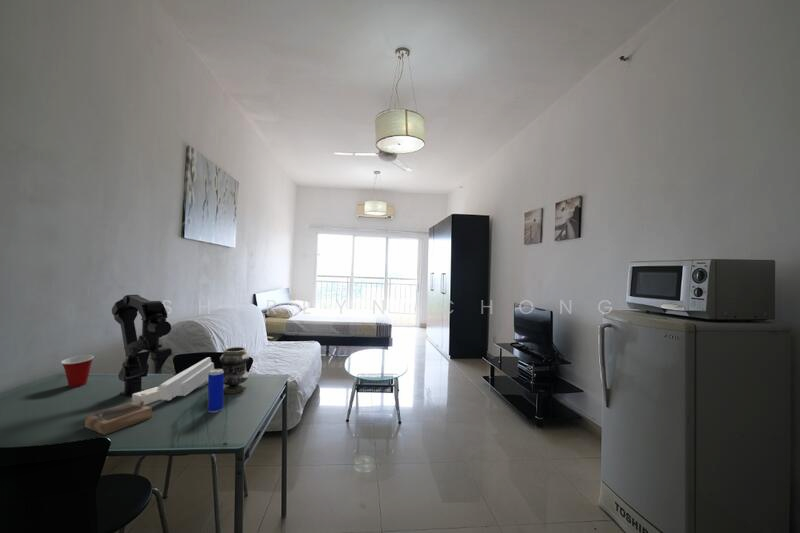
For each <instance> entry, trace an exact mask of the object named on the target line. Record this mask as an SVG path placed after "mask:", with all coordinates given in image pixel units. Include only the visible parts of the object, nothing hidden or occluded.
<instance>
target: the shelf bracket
mask: <svg viewBox="0 0 800 533" xmlns="http://www.w3.org/2000/svg"><path fill="white" fill-rule="evenodd" d="M213 369H215V363H214V362H212V358H211V357H210V356H209V357H205V358H204V359H202V360H200V361H198V362H197V363H195V364H193V365H191V366H190V367H188V368H186V369H184V370H183V371H180V372H179V373H177V374H176V375H174V376H172V377H171V378H169V379H167V380H166V381H164V382H162V383H161V384H160V385H159V386H158V387H159V390H160V396H161V400H162V401H168V402H169V401H171V400H172V399H173V398H175V397H185V396H187V395H189V394H190V393H192V392H193V391H194V390H195V389H197V388H198V387H199V386H201V385H202V384H204V383H205V382H206V381H207V382H208V374H209V371H210V370H213Z"/></svg>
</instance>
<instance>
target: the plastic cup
mask: <svg viewBox="0 0 800 533" xmlns="http://www.w3.org/2000/svg"><path fill="white" fill-rule="evenodd" d="M94 357H95V355H92V354H87V355H86V354H85V355H76V356H73V357H68V358H65V359H62V360H61V361H60V364H62V366H63V368H64V372H65V378H66V380H67V385H68V387H69V388H75V387H81V386H85V385H87V382H88V379H89V376H90V371H91V365H92V362H93V359H94Z"/></svg>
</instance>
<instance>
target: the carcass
mask: <svg viewBox="0 0 800 533" xmlns="http://www.w3.org/2000/svg"><path fill="white" fill-rule="evenodd" d="M152 417H153V407H151V406H147V404H146V405H144V401H140V404H138V403H135V402H132V401H131V402H127V403H124V404H120V405H117V406H114V407H111V408H108V409H104V410H102V411H99V412H95V413H91V414H88V415H86V416H85V417H84V427H85V428H87V429H89V430H92V431H94V432H97V433H99V434H102V435H104V436H105V435H109V434H111V433H113V432H116V431H119V430H122V429H125V428H126V427H130V426H133V425H135V424H138V423H142V422H144V421H146V420H149V419H151V418H152Z"/></svg>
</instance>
